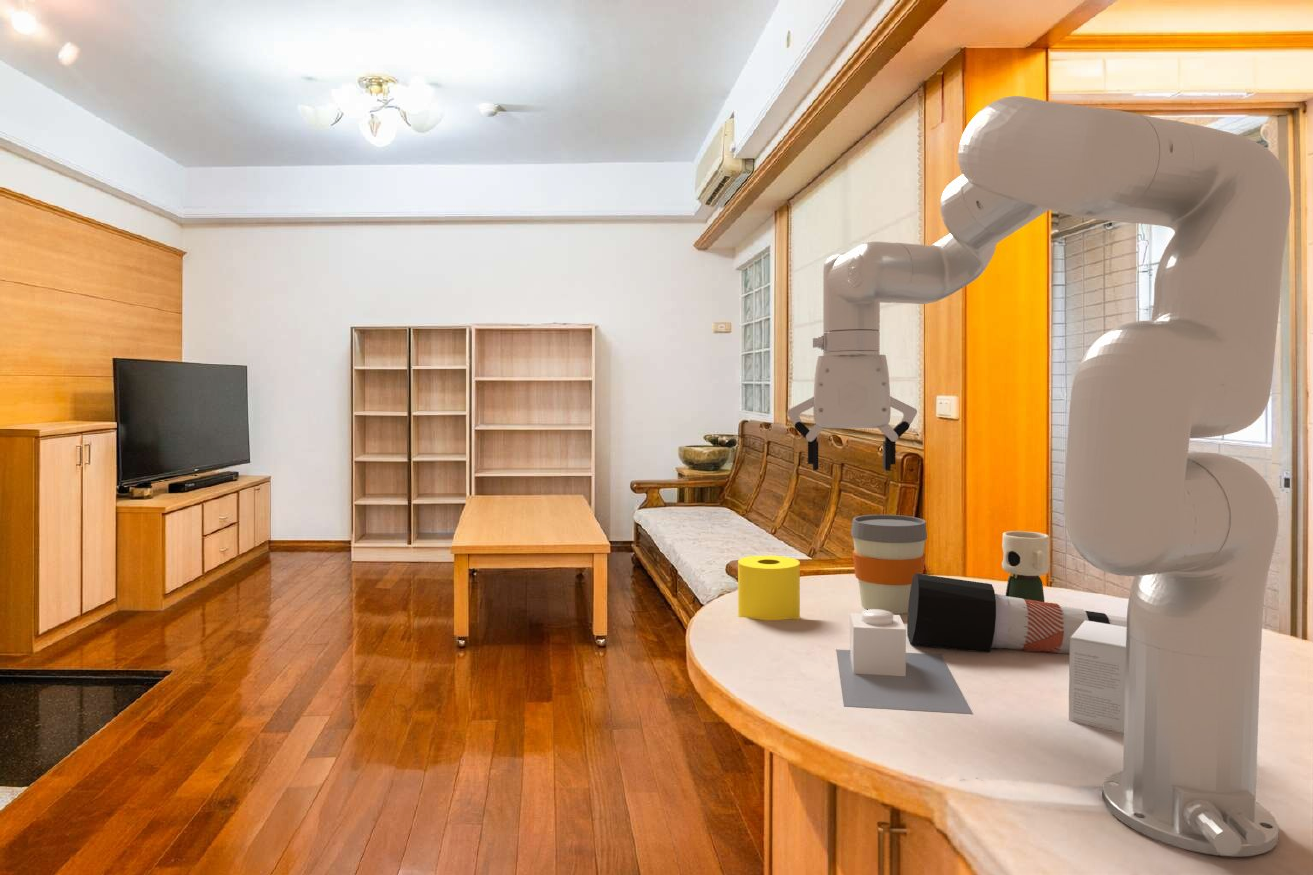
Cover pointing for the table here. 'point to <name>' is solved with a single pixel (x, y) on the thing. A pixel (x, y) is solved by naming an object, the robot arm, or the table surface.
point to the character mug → (1025, 563)
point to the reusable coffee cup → (887, 559)
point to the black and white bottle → (990, 618)
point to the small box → (1097, 675)
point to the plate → (904, 686)
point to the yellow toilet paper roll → (769, 587)
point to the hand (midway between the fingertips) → (850, 469)
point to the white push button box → (877, 643)
